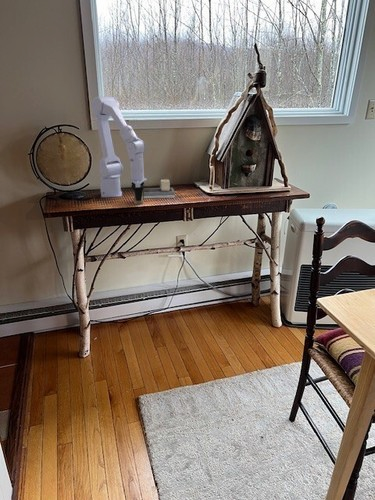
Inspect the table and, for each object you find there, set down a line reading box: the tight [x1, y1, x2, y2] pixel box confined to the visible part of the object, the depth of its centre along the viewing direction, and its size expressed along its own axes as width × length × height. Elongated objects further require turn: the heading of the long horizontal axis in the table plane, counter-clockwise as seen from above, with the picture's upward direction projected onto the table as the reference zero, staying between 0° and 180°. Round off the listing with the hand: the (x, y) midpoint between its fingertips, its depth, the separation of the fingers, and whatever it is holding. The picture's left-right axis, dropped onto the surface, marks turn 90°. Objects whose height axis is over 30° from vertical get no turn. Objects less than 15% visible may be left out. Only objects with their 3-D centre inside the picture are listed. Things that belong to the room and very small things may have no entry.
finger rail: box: [143, 179, 175, 200], centre depth 173 cm, size 18×9×7 cm, turn 98°
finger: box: [133, 190, 145, 205], centre depth 163 cm, size 4×4×6 cm
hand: (138, 199), depth 164 cm, fingers closed on finger, 4 cm apart
